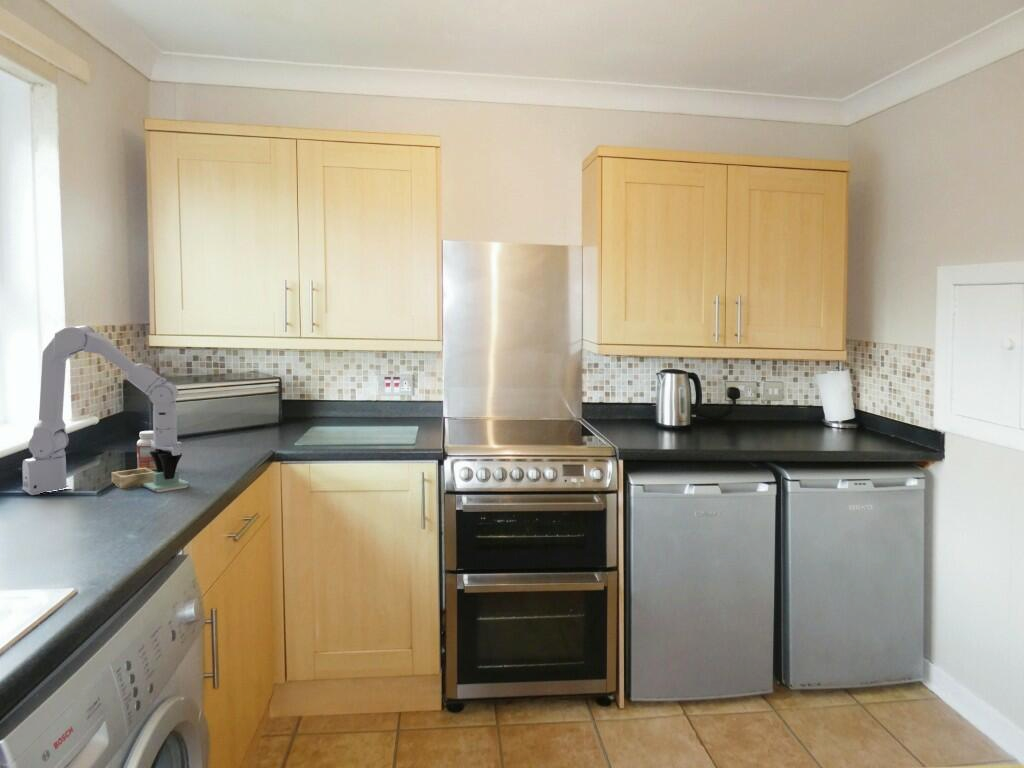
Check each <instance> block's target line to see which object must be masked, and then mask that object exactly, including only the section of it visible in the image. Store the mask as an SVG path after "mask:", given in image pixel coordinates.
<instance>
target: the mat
mask: <svg viewBox="0 0 1024 768" xmlns="http://www.w3.org/2000/svg"><path fill="white" fill-rule="evenodd" d="M187 488H189V485H187V486H181V487H174V488H168V489H162V490H156V491H154V492H156V493H162V492H168V491H174V490H179V489H187Z"/></svg>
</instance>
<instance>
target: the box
mask: <svg viewBox="0 0 1024 768" xmlns="http://www.w3.org/2000/svg"><path fill="white" fill-rule="evenodd" d="M153 473H157V471H155V470H150V469H148V468H140V469H138V468H134V469H128V470H127V469H126V470H120V471H119V470H118V471H112V472H111V483H112V482H113V483H114V484H115V485H114V486H115V487H117V488H119V489H121V490H123V489H130V488H135V487H144V486H143V483H148V482H153Z"/></svg>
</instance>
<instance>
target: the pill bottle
mask: <svg viewBox="0 0 1024 768" xmlns="http://www.w3.org/2000/svg"><path fill="white" fill-rule="evenodd" d="M139 438H140V439H138V440H137V442H136V459H137V461H136V462H137V463H136V464H137V469H140V468H148V469H150V470H152V471H155V470H156V471H157V468H156V465H155V462H154V460H153V458H152V456H151V454H150V451H155V448H152V447H151V440H154V433H153V430H143V431H142V430H141V431H140V432H139Z"/></svg>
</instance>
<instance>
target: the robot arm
mask: <svg viewBox="0 0 1024 768" xmlns="http://www.w3.org/2000/svg"><path fill="white" fill-rule="evenodd" d="M82 351H83V352H85V353H91V354H97V355H101V357H103V358H105V359H106V360H107V361H109V362H110V363H111V364H113V365H115V366H116V367H118V368H119V369H120V370H122V371H123V372H124V373H125V374H126V380H127V381H129V383H130V384H132V385H133V386H135V387H136V388H138V389H139V390H140V391H141V392H143V393H144V394H145V395H147V396H149V400H150V402H151V403H152V409H153V411H152V423H153V425H152V426H153V427H152V429H153V430H152V431H153V433H154V440H151V447H152V448H155V451H150V454H151V456H152V458H153V460H154V462H155V465H156V468H157V469H156V473H159V472H163V473H164V477H165V479H166V480H167V479H173V478H174V475H175V471H176V470H177V467H178V464H179V461H180V459H181V458H182V456H183V453H182V447H181V446H182V442H181V441H178V423H177V421H178V419H177V418H178V417H177V414H178V413H177V401H176V400H177V399H178V396H179V390H178V388H177V386H176V385H175V384H174V382H171V381H167V378H165V377H161V376H160V375H159V374H157V373H156V372H155V371H153V370H152V368H153V367H152V366H151V365H150V364H144V363H139V362H138V363H136V362H134V361H133V360H132V359H131V358H129V357H128V356H127V355H126V354H125V353H124V352H123V351H121V350H120V349H119V348H118V347H116V346H115V345H114V344H113V343H112V342H111V341H110V340H108V339H107V338H106V337H105V336H104V335H103V334H102V333H100V332H98V331H96V330H94V329H93V328H92V327H91V326H89V325H81V324H80V325H79V326H67V327H64V328H62V329H60V330H59V331H57V332H55V333H54V336H53V338H52V340H50V342H49V343H48V344H47V346H46V347H45V348H44V350H43V351H42V356H41V357H42V359H41V376H40V377H41V378H40V390H39V391H40V394H39V395H40V396H39V409H38V410H39V412H38V413H39V414H38V421H37V423H36V424H35V426H34V428H33V432H32V433H33V434H32V436H31V438H30V439H29V442H28V445H27V447H28V450H29V452H30V453H31V454H32V457H30V458H25V459H23V460H22V464H21V465H22V467H21V469H22V471H21V472H22V490H23V491H24V492H26V493H27V494H29V495H30V496H35V495H41V494H40V493H43V492H47V491H53V490H59V489H63V488H66V487H69V486H70V485H69V484H68V483H67V482H68V481H67V460H66V457H67V456H66V454H67V453H66V450H65V448H66V447H67V446H68V444H69V440H70V439H69V436H68V435H69V434H67V432H66V423H65V421H64V420H63V415H64V414H63V412H64V397H65V383H66V368H67V367H66V366H67V360H69V358H72V357H73V356H74V355H76V354H77V353H80V352H82ZM43 494H44V493H43Z"/></svg>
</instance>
